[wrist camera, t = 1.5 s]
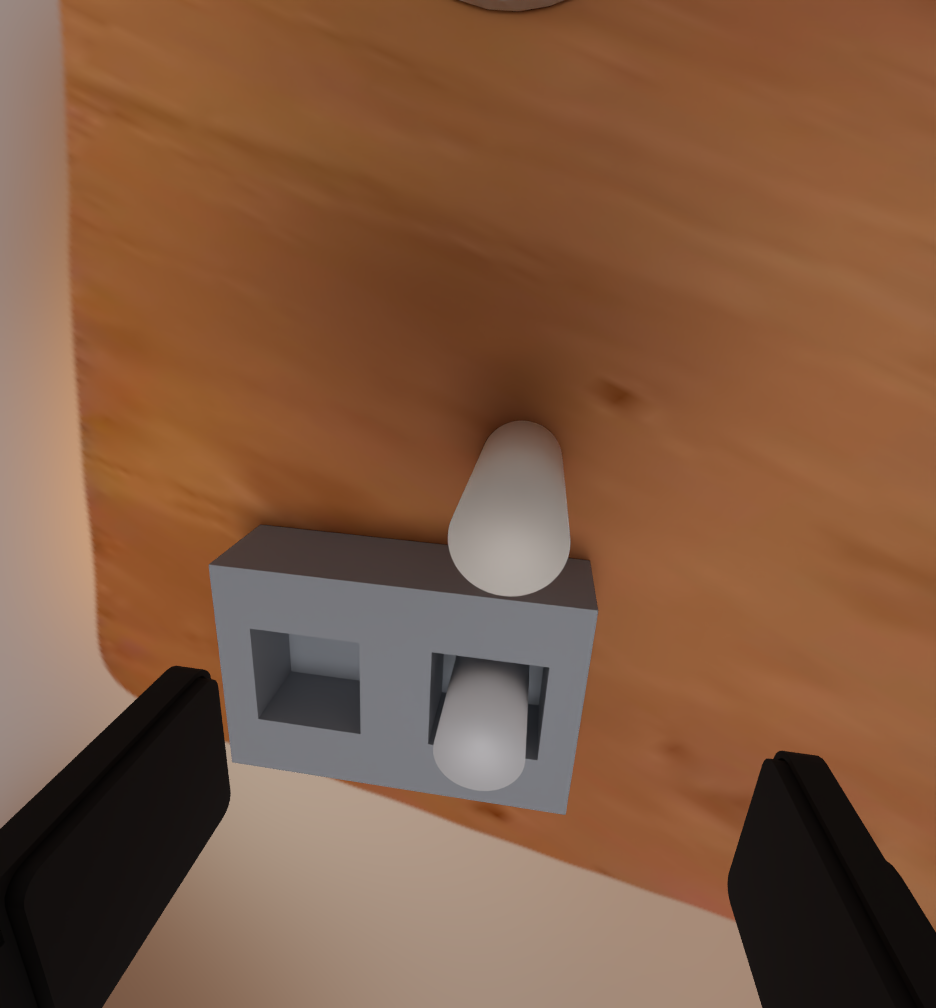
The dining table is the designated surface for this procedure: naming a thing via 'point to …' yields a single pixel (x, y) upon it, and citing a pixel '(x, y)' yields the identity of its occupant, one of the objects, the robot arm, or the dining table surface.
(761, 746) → the dining table surface
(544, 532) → the peg
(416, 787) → the socket block
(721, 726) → the dining table surface
